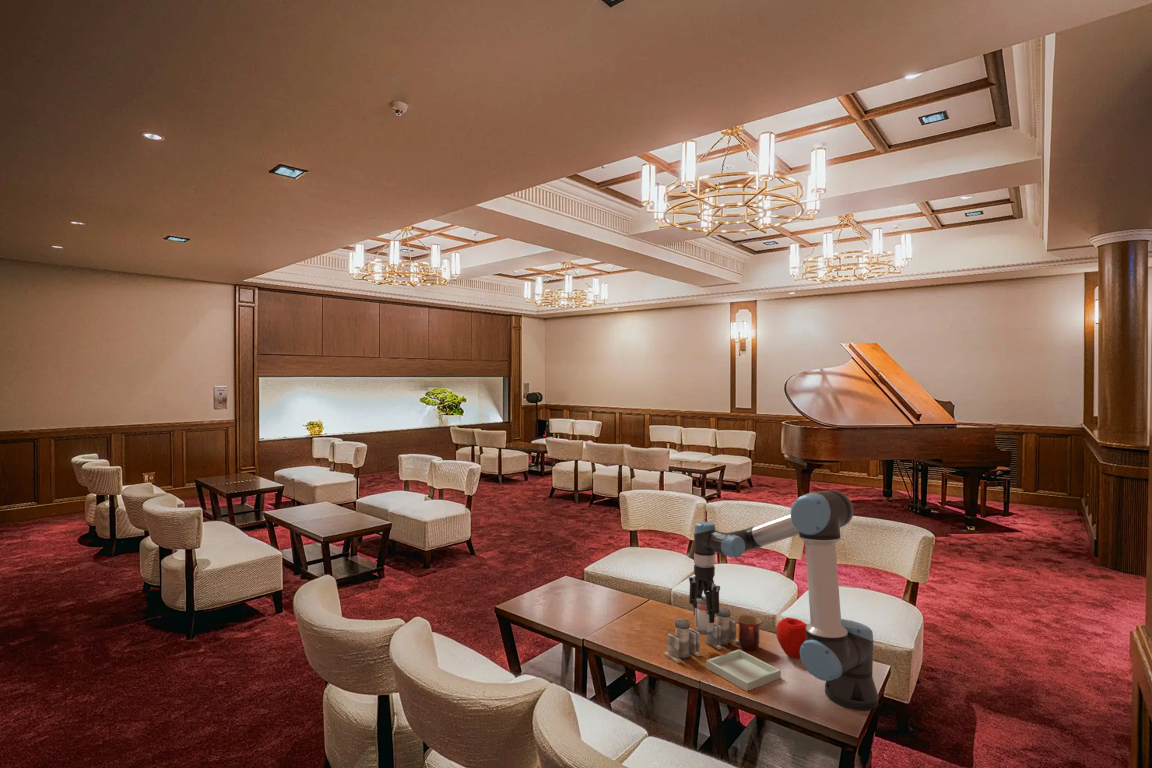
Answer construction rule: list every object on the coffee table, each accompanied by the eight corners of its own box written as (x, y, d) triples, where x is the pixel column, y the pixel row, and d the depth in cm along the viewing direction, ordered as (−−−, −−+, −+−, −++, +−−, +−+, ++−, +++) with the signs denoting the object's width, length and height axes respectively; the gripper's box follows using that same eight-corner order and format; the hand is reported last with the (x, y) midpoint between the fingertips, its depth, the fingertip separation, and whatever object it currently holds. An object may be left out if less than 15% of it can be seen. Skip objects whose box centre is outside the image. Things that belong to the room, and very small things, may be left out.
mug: (735, 640, 216) (736, 613, 216) (759, 643, 214) (760, 616, 214) (738, 655, 204) (739, 626, 204) (763, 657, 202) (764, 629, 203)
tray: (780, 678, 188) (780, 670, 188) (747, 691, 179) (747, 683, 179) (738, 656, 203) (739, 649, 203) (706, 668, 194) (706, 660, 194)
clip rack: (739, 642, 214) (740, 611, 214) (677, 663, 197) (677, 628, 197) (725, 635, 220) (726, 604, 220) (663, 655, 203) (664, 621, 203)
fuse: (714, 632, 208) (714, 599, 208) (703, 635, 205) (704, 602, 205) (703, 627, 212) (703, 595, 212) (693, 630, 209) (693, 597, 209)
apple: (768, 650, 208) (769, 614, 208) (796, 647, 211) (797, 611, 211) (788, 665, 197) (789, 627, 197) (817, 662, 200) (818, 624, 200)
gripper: (730, 569, 203) (730, 634, 203) (693, 557, 219) (693, 617, 218) (715, 572, 199) (715, 639, 199) (679, 560, 215) (678, 621, 214)
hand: (703, 627), depth 208 cm, fingers closed on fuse, 5 cm apart
